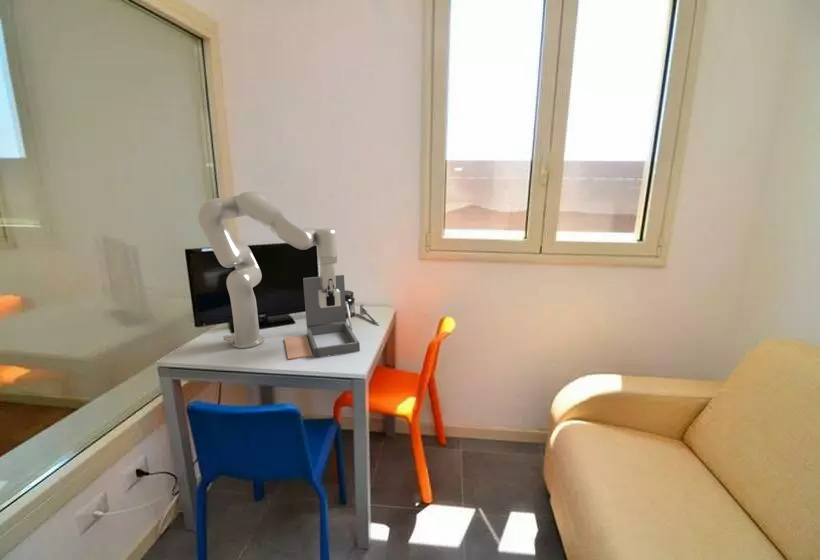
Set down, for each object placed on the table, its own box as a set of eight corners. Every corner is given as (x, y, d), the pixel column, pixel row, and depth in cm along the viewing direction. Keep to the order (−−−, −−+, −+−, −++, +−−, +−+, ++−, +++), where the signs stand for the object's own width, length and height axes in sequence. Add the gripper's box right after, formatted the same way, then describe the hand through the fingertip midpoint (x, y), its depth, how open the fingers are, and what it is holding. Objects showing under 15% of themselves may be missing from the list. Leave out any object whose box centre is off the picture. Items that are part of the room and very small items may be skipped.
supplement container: (329, 316, 201) (328, 293, 198) (345, 311, 209) (344, 288, 206) (343, 320, 194) (342, 296, 191) (359, 315, 202) (358, 292, 199)
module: (320, 308, 160) (319, 293, 158) (319, 304, 164) (318, 290, 163) (340, 305, 162) (340, 291, 161) (338, 302, 167) (337, 288, 166)
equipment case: (315, 357, 153) (310, 293, 147) (307, 334, 177) (303, 278, 171) (362, 350, 159) (360, 288, 153) (348, 328, 183) (346, 274, 177)
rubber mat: (288, 360, 151) (288, 358, 151) (284, 339, 171) (284, 338, 171) (312, 356, 154) (312, 354, 154) (306, 336, 174) (306, 335, 174)
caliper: (360, 314, 204) (359, 302, 202) (362, 314, 204) (361, 302, 203) (377, 326, 187) (377, 313, 185) (380, 325, 187) (379, 313, 186)
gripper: (315, 257, 165) (317, 299, 170) (321, 264, 150) (323, 310, 154) (333, 255, 168) (335, 297, 172) (340, 263, 152) (342, 308, 157)
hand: (329, 303), depth 163 cm, fingers closed on module, 5 cm apart
